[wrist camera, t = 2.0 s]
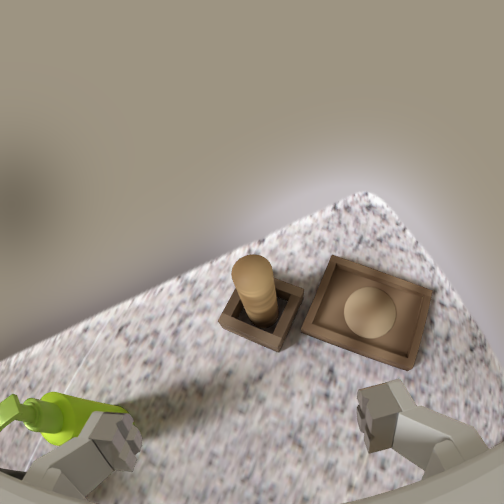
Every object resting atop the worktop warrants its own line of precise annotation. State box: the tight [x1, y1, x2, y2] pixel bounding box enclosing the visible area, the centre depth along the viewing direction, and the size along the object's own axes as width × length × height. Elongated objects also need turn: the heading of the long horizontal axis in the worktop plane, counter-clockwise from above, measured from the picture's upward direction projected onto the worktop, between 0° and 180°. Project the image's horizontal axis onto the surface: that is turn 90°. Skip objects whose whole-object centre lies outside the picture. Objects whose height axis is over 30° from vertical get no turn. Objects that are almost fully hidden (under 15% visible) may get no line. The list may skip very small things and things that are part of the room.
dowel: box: [231, 254, 279, 328], centre depth 36 cm, size 4×4×12 cm
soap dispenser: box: [0, 392, 134, 446], centre depth 26 cm, size 6×7×20 cm
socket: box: [218, 278, 304, 352], centre depth 40 cm, size 8×8×3 cm
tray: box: [301, 255, 432, 371], centre depth 38 cm, size 15×11×2 cm
